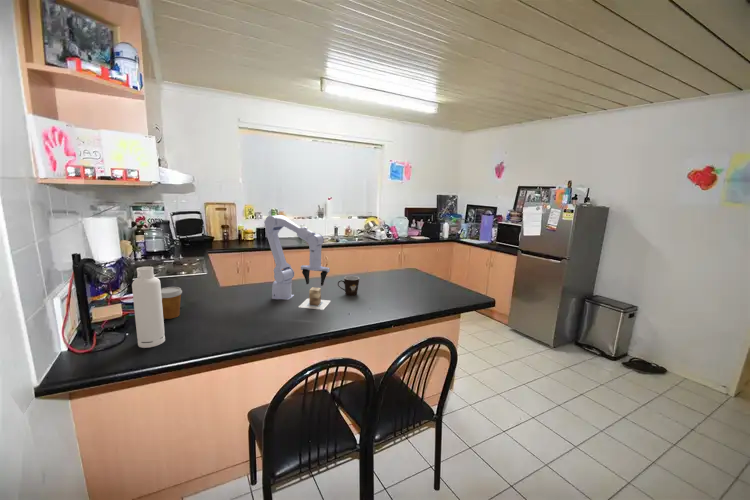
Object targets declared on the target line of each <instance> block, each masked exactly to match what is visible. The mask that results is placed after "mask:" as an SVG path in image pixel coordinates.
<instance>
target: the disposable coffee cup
mask: <svg viewBox="0 0 750 500" xmlns="http://www.w3.org/2000/svg"><path fill="white" fill-rule="evenodd" d="M182 294H183V290H182V288H181V287H179V286H168V287H161V296H162V308H163V319H164V320H166V319H167V320H171V319H175V318H177V317H179V316H180V312H181V299H182Z"/></svg>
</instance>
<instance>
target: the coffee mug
mask: <svg viewBox="0 0 750 500" xmlns="http://www.w3.org/2000/svg"><path fill="white" fill-rule="evenodd" d="M340 283H343V284H344V288H343V287H341V286H340V285H339V284H340ZM359 283H360V277H359V276H355V275H347V276H346V275H345V276H344V278H343V280H339V281H338V282H337V286H338V288H339V289H341V290H343V291H344V293H345V295H346V296H348V297H354V296H357V295H358V291H359Z"/></svg>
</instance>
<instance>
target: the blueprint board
mask: <svg viewBox="0 0 750 500" xmlns="http://www.w3.org/2000/svg"><path fill="white" fill-rule="evenodd" d="M330 303H331V300H330V299H329V300H326V299H321V303H320V304H319V305H318V306H315V305H309V297H308V298H306V299H305V300H304V301H303V302H302V303H300V305H298V308H300V309H301V308H303V309H310V310H312V309H314V310H321V311H323V310H325V309H326V307H327V306H328V305H329V304H330Z"/></svg>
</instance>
